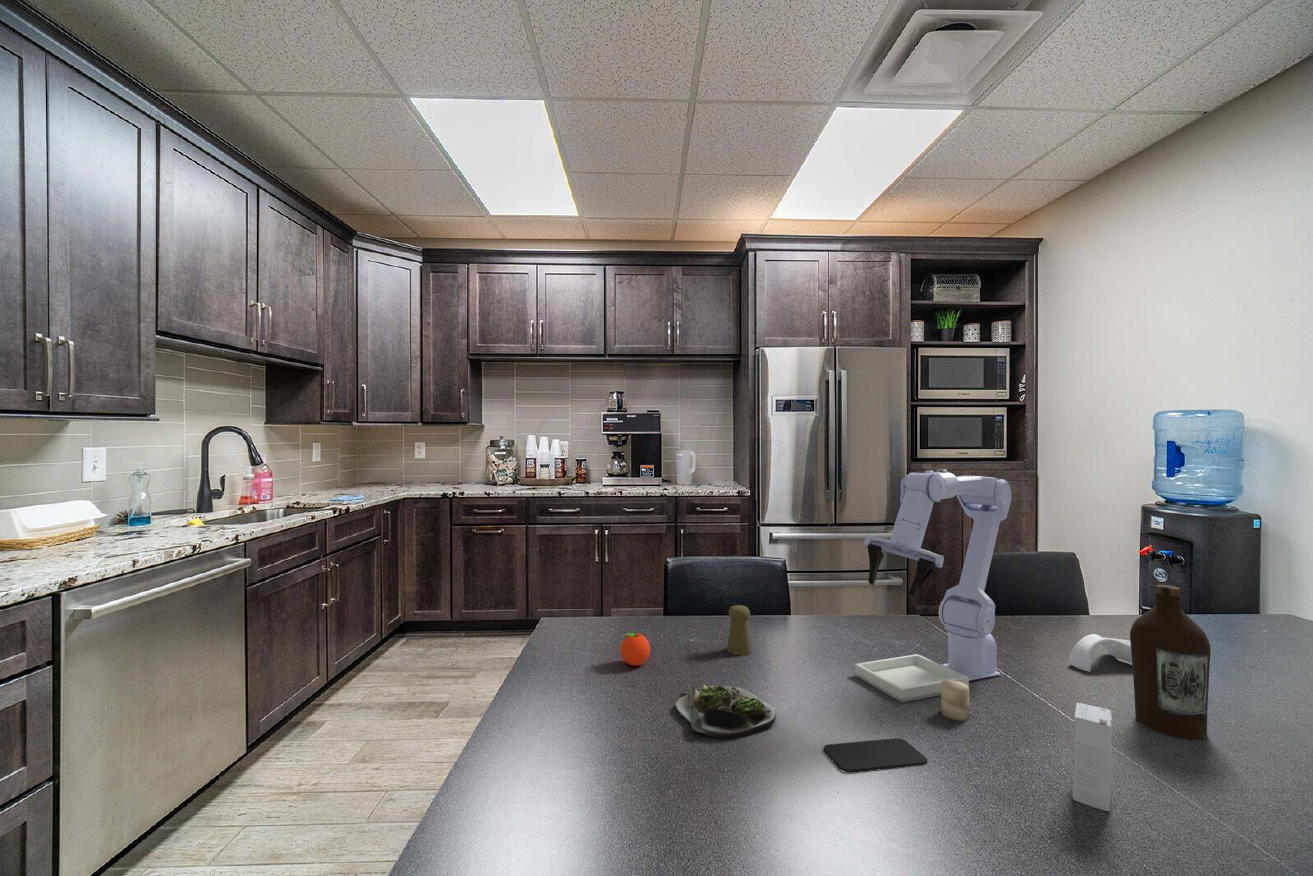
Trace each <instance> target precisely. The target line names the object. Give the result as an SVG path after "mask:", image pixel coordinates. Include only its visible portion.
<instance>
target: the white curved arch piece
mask: <svg viewBox="0 0 1313 876" xmlns="http://www.w3.org/2000/svg"><path fill="white" fill-rule="evenodd" d="M1100 644H1101V645H1102V646H1103V648H1104V649H1105V650H1106V651H1107V652H1108V653H1109V654H1110V656H1112V657H1113V656H1114V657H1113V658H1115V657H1116V658H1118V659H1122V660H1125V661H1128V662H1131V663H1132V655H1131V643H1130V640H1127V639H1120V638H1112V637H1103V636H1101V635H1099V634H1096V633H1094V634H1092V633H1091V634H1088V635H1085V636H1084V637H1082V638H1081V639H1080V640H1079V641H1078V642H1076V644H1075V645H1074V647H1073V648H1072V650H1071V652H1070V655H1069V657H1068V665H1069V664H1072V665H1073V666H1076V667H1078V668H1082V669H1084V670H1086V671H1091V657H1092V656H1091V655H1092V652H1093V650H1094V649H1095V648H1096V647H1097V646H1098V645H1100Z"/></svg>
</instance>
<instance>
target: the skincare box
mask: <svg viewBox="0 0 1313 876" xmlns="http://www.w3.org/2000/svg"><path fill="white" fill-rule="evenodd" d="M1112 715H1113V714H1112V710H1111V709H1107V708H1104V707H1099V706H1096V705H1092V704H1091V705H1090V704H1086V703H1080V702H1075V710H1074V725H1073V726H1074V727H1073V728H1074V729H1073V744H1072V745H1073V751H1072V752H1073V753H1072V755H1073V756H1072V790H1071V791H1072V794H1071V795H1072V796H1071V798H1072V800H1073V801H1076V802H1078V803H1081V804H1083V805H1086V806H1088V807H1091V808H1094V809H1098V810H1100V811H1104V812H1110V810H1111V798H1112V755H1113V754H1112V745H1113V744H1112V743H1113V741H1112V740H1113V739H1112V738H1113V737H1112V736H1113V735H1112V732H1113V730H1112V727H1113V725H1112V724H1113V723H1112V722H1113V721H1112V720H1113V716H1112Z"/></svg>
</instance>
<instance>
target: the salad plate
mask: <svg viewBox="0 0 1313 876" xmlns="http://www.w3.org/2000/svg"><path fill="white" fill-rule="evenodd" d="M686 689H687V694H686V695H684V696H681V697H680V698H679V699H678V700H677V702H676V703H675V707H676V709H677V711H678V712H679V714H680V715H682V716H683V717H684V719H686V721H688V722H689V723H690V725H691V728H692V730H693V731H695V732H697V733H701V734H703V735H705V736H707V737H711V738H714V739H720V740H721V739H722V740H723V739H724V740H731V739H737V738H742V737H747V736H749V735H754V734H757V733H760V732H763V731H766V730H767V729H769V728H770V727H772V725H774V724H775V722H776V718H777V714H776V710H775V708H774V707H773V706H772V705H770V704H769V703H767V702H765V701H763V700H761V699H760V698H758V697H756V695H754V694H752V693H751V692H750V691H747V689H744V688H741V687H736V686H722V685H721V684H720V685H719V684H717V685H715V686H714V685H711V686H708V687H707V685H706V684H703V685H702V688H701V691H698V689H697V687H696V685H695V684H688V685H687V686H686ZM732 701H734V702H732Z"/></svg>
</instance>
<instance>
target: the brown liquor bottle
mask: <svg viewBox="0 0 1313 876" xmlns="http://www.w3.org/2000/svg"><path fill="white" fill-rule="evenodd" d="M1155 590H1156V592H1155V596H1154V597H1155V605H1154V606H1153V607H1152V608H1150V609H1149V610H1147V611H1146V612H1145V613H1143V614H1141V615H1140V616H1139V617H1137V618H1136V619H1135V620H1134V621H1133V623H1132V625H1131V627H1130V631H1129V641H1130V643H1131V655H1132V665H1131V666H1132V676H1133V678H1132V679H1133V690H1134V691H1133V693H1134V695H1133V697H1134V714H1135V715H1134V716H1135V719H1136V721H1138V722H1139V723H1140V724H1142V725H1143V724H1144V727H1147V728H1149V729H1151V728H1152V729H1151V730H1153V729H1154V730H1153V731H1156V732H1157V733H1161V732H1162V733H1161V734H1165V735H1168V736H1171V737H1177V738H1180V737H1181V739H1190V740H1200V739H1203V738H1205V737H1207V736H1208V711H1209V710H1208V708H1209V707H1208V705H1209V703H1208V702H1209V701H1208V700H1209V687H1210V686H1209V685H1210V684H1209V683H1210V682H1209V681H1210V667H1211V666H1210V665H1211V664H1210V663H1211V644H1210V641H1209V638H1208V636H1207V634H1206V633H1205V631H1204V630H1203V628H1201V627H1200V625H1198V624H1197V622H1195V621H1194V620H1193V619H1192V618H1191V617H1189V616H1188V615H1187V613H1186V612H1184V610H1183V609H1182V606H1181V605H1182V596H1181V595H1180V592H1181V588H1180V587H1177V586H1174V585H1168V584H1156V586H1155Z"/></svg>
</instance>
